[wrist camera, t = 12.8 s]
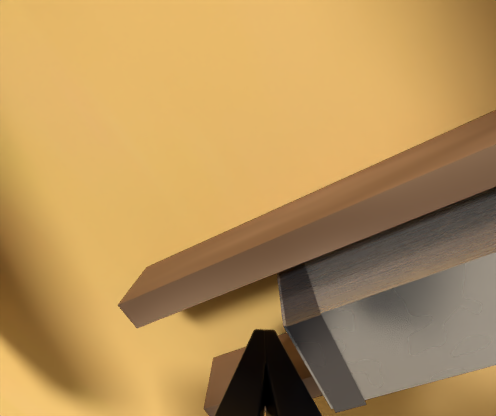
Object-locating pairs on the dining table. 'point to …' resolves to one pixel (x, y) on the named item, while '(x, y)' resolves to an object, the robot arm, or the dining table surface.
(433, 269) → the grey rectangular block
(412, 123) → the dining table surface
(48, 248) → the dining table surface
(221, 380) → the housing
